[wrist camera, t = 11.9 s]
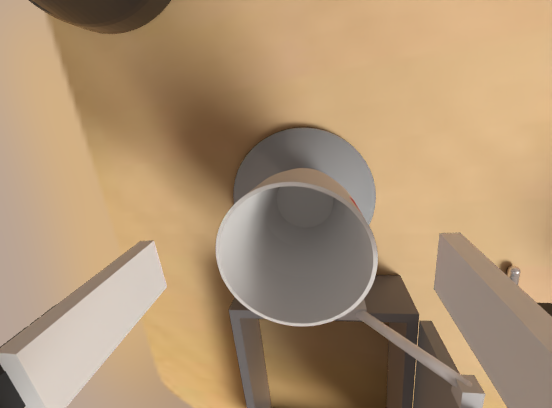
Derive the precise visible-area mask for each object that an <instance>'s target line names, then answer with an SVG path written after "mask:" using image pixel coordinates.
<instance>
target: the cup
mask: <svg viewBox="0 0 552 408" xmlns="http://www.w3.org/2000/svg"><path fill="white" fill-rule="evenodd" d="M216 259H217V264H218V268H219V271H220V274H221V276H222V278H223V281H224V282H225V284H226V286H227V287H228V289H229V290H230V292H231V293H232V294H233V295H234V297H235V298H236V299H237V300H238V301H239V302H240V303H242V304H243V305H244V306H245V307H246V308H248V309H249V310H250V311H252V312H254V313H255V314H257V315H259V316H261V317H263V318H265V319H267V320H270V321H273V322H276V323H279V324H284V325H290V326H315V325H321V324H325V323H328V322H331V321H334V320H336V319H338V318H341V317H342V316H344V315H346V314H347V313H349V312H350V311H352V310H353V309H354V308H355V307H356V306H358V305H359V304H360V303H361V301H362V300H363V299H364V298H365V297H366V295H367V294H368V292H369V290H370V289H371V287H372V284H373V282H374V279H375V276H376V272H377V265H378V253H377V246H376V242H375V238H374V236H373V233H372V231H371V229H370V227H369V225H368V223H367V222H366V220H365V218H364V217H363V215H362V213H361V212H360V210H359V208H358V206H357V205H356V203H355V201H354V200H353V198H352V197H351V195H350V194H349V193H348V191H347V190H346V189H345V188H344V187H343V186H342V185H340V184H339V183H338V182H337V181H335V180H334V179H332V178H331V177H330V176H328V175H326V174H325V173H323V172H320V171H318V170H314V169H309V168H297V169H292V170H288V171H284V172H280V173H277V174H275V175H273V176H271V177H269V178H267V179H266V180H264V181H263V182H261V183H260V184H259V185H258V186H256V187H255V188H254V189H252V190H251V191H250V192H248V193H247V194H246V195H245V196H243V197H242V198H241V199H240V200H238V201H237V202H236V203H235V204H234V205H233V206H232V207H231V208H230V210H229V211H228V212H227V214H226V215H225V217H224V219H223V221H222V223H221V225H220V228H219V230H218V234H217V239H216Z"/></svg>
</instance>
